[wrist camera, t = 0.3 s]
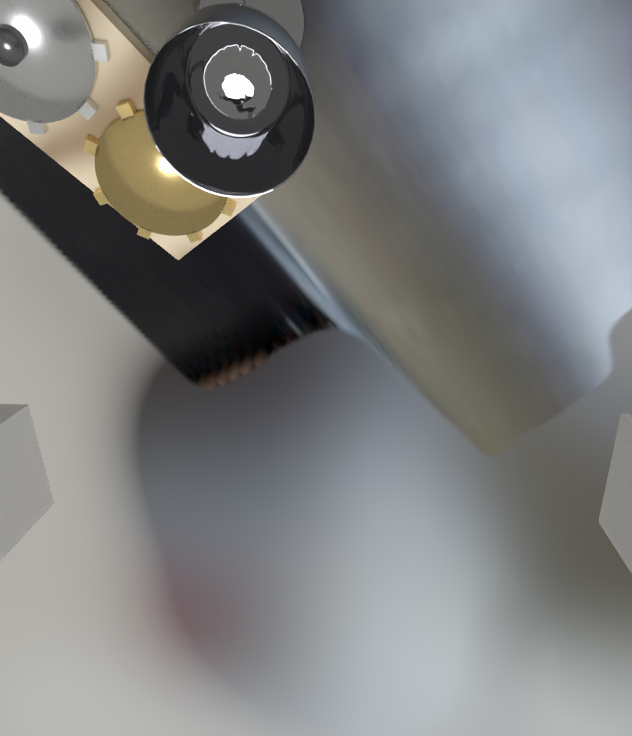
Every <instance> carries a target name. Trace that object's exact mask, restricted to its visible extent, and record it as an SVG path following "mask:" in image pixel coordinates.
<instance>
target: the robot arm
mask: <svg viewBox="0 0 632 736" xmlns="http://www.w3.org/2000/svg"><path fill="white" fill-rule="evenodd" d="M53 503H54V501H53V498H52V494H51V490H50V486H49V482H48V478H47V475H46V471H45V467H44V463H43V459H42V455H41V452H40V448H39V444H38V440H37V436H36V433H35V429H34V425H33V421H32V417H31V413H30V409H29V406H28V405H18V404H17V405H16V404H15V405H14V404H12V405H11V404H0V561H1V560H2V559H3V558H4V556H5V555H6V554H7V553H8V552H9V551H10V550H11V549H12V548H13V547H14V546H15V545H16V544H17V542H18V541H19V540H20V539H21V538H22V537H23V536H24V535H25V534H26V533H27V532H28V530H30V528H31V527H32V526H33V525H34V524H35V523H36V522H37V521H38V520H39V519H40V518H41V517H42V515H43V514H44V513H45V512H46V511H47V510H48V509H49V508H50V507H51V506H52V504H53ZM599 523H600V525H601V526H602V528H603V530H604V531H605V533H606V534H607V536H608V537H609V539H610V540H611V542H612V544H613V545H614V547H615V548H616V550H617V551H618V553H619V554H620V556H621V558H622V559H623V560H624V562H625V564H626V565H627V567H628V568H629V570H630V572H631V573H632V413H621V417H620V422H619V427H618V431H617V436H616V441H615V446H614V450H613V455H612V460H611V465H610V470H609V474H608V479H607V484H606V489H605V493H604V498H603V503H602V508H601V512H600V517H599Z"/></svg>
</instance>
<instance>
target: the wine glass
mask: <svg viewBox="0 0 632 736" xmlns="http://www.w3.org/2000/svg"><path fill="white" fill-rule="evenodd" d="M304 27H305V25H304V12H303V6H302V2H301V0H197V2H196V11H195V12H193V13H191V14H190V15H188V16H187V17H186V18H184V19H183V20H182V21H181V22H179V23H178V24H177V25H176V26H175V27H174V28H173V30H172V31H171V32H170V33H169V34H168V36H167V37H166V38H165V40H164V41H163V42H162V44H161V45H160V47H159V49H158V51H157V53H156V55H155V57H154V59H153V61H152V63H151V65H150V67H149V70H148V74H147V77H146V81H145V84H144V96H143V105H144V116H145V120H146V123H147V127H148V131H149V133H150V135H151V138H152V140H153V142H154V145H155V146H156V148H157V149H158V151H159V153H160V154H161V156H162V157H163V159H164V160H165V161H166V162H167V163H168V164H169V165H170V167H171V168H172V169H173V170H174V171H175V172H177V173H178V174H179V175H180V176H181V177H182V178H183V179H185V180H187V181H188V182H190V183H191V184H193V185H194V186H196V187H198V188H200V189H203V190H205V191H207V192H209V193H213V194H216V195H220V196H226V197H233V198H241V197H252V196H257V195H262V194H264V193H267V192H270V191H272V190H274V189H276V188H278V187H279V186H281V185H283V184H284V183H285V182H286V181H288V180H289V179H290V178H291V177H292V176H293V175H294V174H295V173H296V172H297V171H298V169H299V168H300V167H301V166H302V164H303V162H304V160H305V159H306V157H307V155H308V153H309V150H310V147H311V144H312V141H313V136H314V129H315V98H314V92H313V86H312V81H311V76H310V72H309V69H308V67H307V64H306V61H305V59H304V57H303V55H302V53H301V51H300V47H301V43H302V40H303V35H304Z"/></svg>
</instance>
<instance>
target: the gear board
mask: <svg viewBox="0 0 632 736" xmlns="http://www.w3.org/2000/svg"><path fill="white" fill-rule="evenodd" d="M154 57H155V56H154V55H153V54H152V53H151V52H150V51H149V50H148V48H147V47H146V46H145V45H144V44H143V43H142V42H141V41H140V40H139V39H138V38H137V37H136V36H135V34H134V33H133V32H132V31H131V30H130V29H129V28H128V27H127V26H126V25H125V24H124V23H123V21H122V20H121V19H120V18H119V17H118V16H117V15H116V14H115V13H114V12H113V11H112V10H111V9H110V7H109V6H108V5H107V4H106V3H105V2H104V1H103V0H0V116H1V117H2V118H3V119H4V120H6V121H7V122H8V123H9V124H11V125H12V126H13V127H14V128H15V129H17V130H18V131H19V132H20V133H22V134H23V135H24V136H25V137H27V138H28V139H29V140H30V141H32V142H33V143H34V144H35V145H36V146H38V147H39V148H40V149H41V150H43V151H44V152H45V153H46V154H48V155H49V156H50V157H51V158H53V159H54V160H55V161H56V162H57V163H59V164H60V165H61V166H62V167H64V168H65V169H66V170H67V171H69V172H70V173H71V174H72V175H73V176H75V177H76V178H77V179H78V180H80V181H81V182H82V183H83V184H85V185H86V186H87V187H88V188H90V189H91V190H92V191H93V192H94V194H93V195H94V197H95V198H96V200H97V201H98V203H99V204H100V205H104V204H107V203H108V204H109V205H111V206H112V207H113V208H114V209H115V210H116V211H118V212H119V213H120V214H121V215H122V216H123V217H124V218H126V219H127V220H129V221H130V222H131V223H133V224H134V225H135V226H136V227H138V228H139V230H138V233H137V235H139V236H142V237H144V238H147V239H149V237H150V238H151V239H152V240H154V241H155V242H156V243H157V244H159V245H160V246H161V247H162V248H164V249H165V250H166V251H167V252H169V253H170V254H171V255H172V256H173V257H175V258H176V259H177V260H179V259H180V258H182V257H183V256H184V255H186V254H187V253H188V252H189V251H191V250H192V249H193V248H195V247H196V246H197V245H198V244H200V243H201V242H202V241H203V240H205V239H206V238H207V237H209V236H210V235H211V234H212V233H214V232H215V231H216V230H217V229H219V228H220V227H221V226H223V225H224V224H225V223H226V222H228V221H229V220H230V219H232V218H233V217H234V216H235V215H237V214H238V213H239V212H240V211H242V210H243V209H244V208H246V207H247V206H248V205H249V204H251V203H252V202H253V201H255V200H256V199H257V198H258V197H260V196H261V195H257V196H252V197H241V198H233V197H226V196H220V195H216V194H213V193H209V192H207V191H205V190H203V189H200V188H198V187H196V186H194V185H193V184H191V183H190V182H188V181H187V180H185V179H183V178H182V177H181V176H180V175H179V174H178V173H177V172H175V171H174V170H173V169H172V168H171V167H170V165H169V164H168V163H167V162H166V161H165V160H164V159H163V157H162V156H161V154H160V153H159V151H158V149H157V148H156V146H155V145H154V142H153V140H152V138H151V135H150V133H149V131H148V127H147V123H146V120H145V116H144V105H143V96H144V84H145V81H146V77H147V74H148V70H149V67H150V65H151V63H152V61H153V59H154Z"/></svg>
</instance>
